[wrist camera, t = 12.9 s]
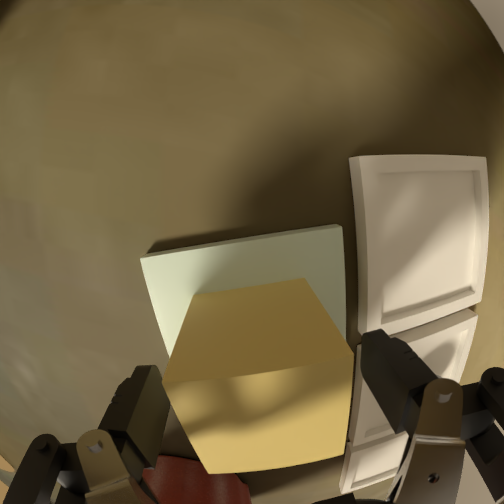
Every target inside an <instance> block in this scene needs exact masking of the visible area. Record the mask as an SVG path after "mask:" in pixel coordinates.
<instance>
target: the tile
mask: <svg viewBox="0 0 504 504" xmlns="http://www.w3.org/2000/svg"><path fill="white" fill-rule="evenodd" d="M140 260H141V264H142V268H143V272H144V276H145V280H146V284H147V287H148V291H149V294H150V298H151V301H152V305H153V308H154V311H155V315H156V318H157V321H158V324H159V327H160V331H161V334H162V337H163V340H164V343H165V345H166V348H167V351H168V354H169V357H171V354H172V351H173V348H174V345H175V343H176V340H177V337H178V334H179V332H180V329H181V326H182V323H183V321H184V318H185V315H186V313H187V310H188V307H189V305H190V302H191V299H192V297H193V295H196V294H203V293H210V292H217V291H224V290H231V289H237V288H244V287H250V286H257V285H263V284H269V283H275V282H281V281H287V280H293V279H299V278H305V279H306V281H307V282H308V284H309V285H310V287H311V288H312V290H313V291H314V293H315V294H316V296H317V297H318V299H319V300H320V302H321V304H322V305H323V307H324V308H325V310H326V311H327V313H328V314H329V316H330V317H331V319H332V320H333V322H334V324H335V325H336V327H337V328H338V330H339V331H340V333H341V334H342V336H343V338H344V339H345V341H346V288H345V263H344V246H343V232H342V226H340V225H337V224H332V225H325V226H318V227H311V228H304V229H298V230H291V231H284V232H278V233H271V234H265V235H258V236H252V237H245V238H239V239H233V240H226V241H220V242H214V243H208V244H202V245H196V246H189V247H183V248H177V249H172V250H166V251H160V252H154V253H148V254H145V255H144V256H142V257H141V258H140Z"/></svg>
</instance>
